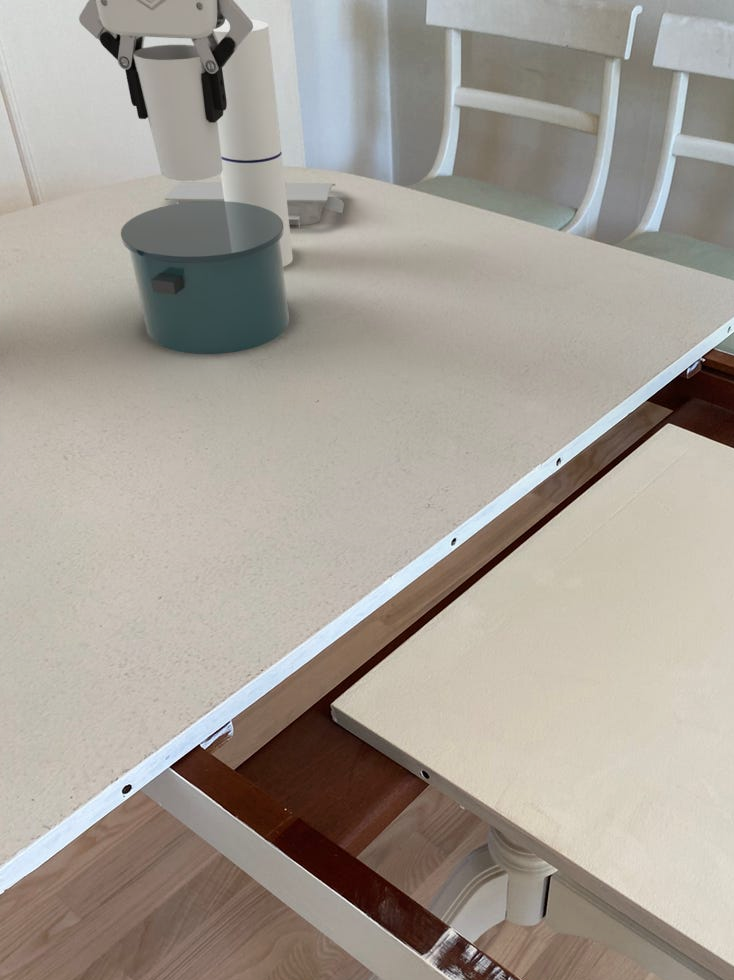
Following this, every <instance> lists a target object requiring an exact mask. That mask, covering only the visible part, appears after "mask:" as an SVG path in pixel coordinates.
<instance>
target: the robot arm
mask: <svg viewBox="0 0 734 980" xmlns="http://www.w3.org/2000/svg"><path fill="white" fill-rule="evenodd" d="M225 19H226V20H227V21H228V22H229V24H230V30H229V32H228V33H227V34H226V36H225V37H224V38H223V39H222V40H221V41H220V43H219V42H218V39H217V37H216V35H215V33H214V31H213V29H216V28H219V27H220V26H222V25H223V24H224V22H225ZM250 19H251V18H249V16H248V15H247V14H246V13H245V12H244V11H243V10H242V9H241V8H240V6H239V5H238V3H237V2H235V0H88V1H87V2H86V4H85V6H84V8H83V9H82V11H81V12H80V14H79V17H78V20H79V23H80V24H81V25H82V27H83V28H85V29H86V30H87V31H88V32H89V33H90V35H92V36H93V37H94V38H95V39H97V40H98V41H99V42H100V44H101V45H102V46H103V48H104V49H105V50H107V52H108V53H109V54H110V55H111V56H112V57H114V59H115V60H116V61H117V63H118V66H119V67H120V68H121V69H123V70H125V76H126V81H127V86H128V92H129V96H130V101H131V104H132V106H133V107H136V114H137V117H138V119H139V120H147V119H148V115H147V111H146V107H145V102H144V98H143V93H142V89H141V84H140V80H139V75H138V72H137V69H136V65H135V61H134V57H133V54H134V53H135V51H136V50H139V49H142V48H144V46H145V38H165V39H166V38H167V39H190V40H191V42H192V43H193V44H192V45H194V46H195V48H196V50H197V52H198V54H199V57H200V59H201V61H202V63H203V65H204V67H205V72H204V73H202V74H201V76H202V78H201V80H202V89H203V98H204V107H205V114H206V120H208V121H209V122H211V123H215V122H216V121H217V120H218V119H220V118H221V117H222V116H223V111H224V110H225V109H226V107H227V101H226V93H225V86H224V78H223V71H222V67H223V66H225V64H226V62H227V61H228V59H229V58H230V57H231V56H232V54H233V53H234V52H235V50H236V49H237V47H238V46H239V45H240V44H241V43H242V41H243V40H244V39H245V38H246V36H247V35H248V34H249V33H250V32H251V30H252V29H253V23H252V21H251V20H250Z"/></svg>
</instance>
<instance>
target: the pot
mask: <svg viewBox="0 0 734 980" xmlns="http://www.w3.org/2000/svg"><path fill="white" fill-rule="evenodd" d="M283 233H284V226H283V221H282V220H281V218H280V217H279V216H278V215H277V214H275V213H274V212H272V211H270V210H268V209H265V208H262V207H259V206H255V205H250V204H245V203H238V202H228V201H199V202H188V203H180V204H176V203H175V204H168V205H163V206H160V207H156V208H153V209H150V210H147V211H144V212H142V213H140V214H138V215H136V216H134V217H132V218H131V219H129V220H128V221H126V222H125V224H123V226H122V227H121V229H120V238H121V242H122V244H123V246H125V248H126V249H127V250H128V251H129V254H130V259H131V264H132V268H133V273H134V279H135V281H136V282H135V283H136V287H137V291H138V296H139V301H140V305H141V310H142V315H143V319H144V324H145V328H146V332H147V335H148V337H149V338H150V339H151V340H152V341H153V342H154V343H156V345H157V344H158V345H159V346H161V347H163V348H166V349H169V350H172V351H175V352H181V353H187V354H195V355H219V354H228V353H236V352H241V351H246V350H250V349H253V348H256V347H260V346H263V345H265V344H268V343H269V342H271V341H273V340H275V339H276V338H278V337H280V336H281V335H282V334H283V333H284V332H285V331H286V330H287V328H288V326H289V325H290V324H289V323H290V314H289V306H288V297H287V289H286V288H287V287H286V281H285V280H286V279H285V272H284V270H285V269H284V267H283V261H282V252H281V243H280V239H281V237H282V236H283Z"/></svg>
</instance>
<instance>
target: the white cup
mask: <svg viewBox="0 0 734 980" xmlns="http://www.w3.org/2000/svg"><path fill="white" fill-rule="evenodd" d="M133 57H134V61H135V65H136V69H137V72H138V75H139V80H140V84H141V89H142V93H143V98H144V102H145V107H146V111H147V115H148V118H147V120H148V123H149V127H150V132H151V137H152V140H153V144H154V149H155V152H156V156H157V162H158V165H159V169H160V172H161V175H162V176H163V177H164V178H166V179H169V180H173V181H179V182H180V181H181V182H196V181H200V180H207V179H211V178H214V177H218V175H221V174H220V173H222V170H223V167H222V158H221V149H220V141H219V132H218V123H217V121H216V122H215V123H211V122H209V121H208V120H206V114H205V107H204V98H203V89H202V80H201V78H202V76H201V74H202V73H204V72H205V67H204V65H203V63H202V61H201V59H200V57H199V54H198V52H197V50H196V48H195V46H194V44H161V45H160V44H159V45H152V46H148V47H143V48H142V49H139V50H136V51H135V53H134V54H133Z"/></svg>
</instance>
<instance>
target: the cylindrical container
mask: <svg viewBox="0 0 734 980" xmlns="http://www.w3.org/2000/svg"><path fill="white" fill-rule="evenodd" d="M249 19H250V20H251V21H252V23H253V29H252V30H251V32H250V33H249V34H248V35H247V36H246V38H245V39H244V40H243V41H242V43H241V44H240V45H239V46H238V47H237V49H236V50H235V52H234V53H233V54H232V56H231V57H230V58H229V59H228V61H227V62H226V64H225V66H223V67H222V71H223V78H224V86H225V93H226V101H227V107H226V109H225V110H224V111H223V116H222V117H221V118H220V119H218V120H217V123H218V132H219V141H220V149H221V158H222V167H223V170H222V173H220V174H219V175H220V179H221V181H220V182H222V187H223V194H224V201H228V202H238V203H245V204H250V205H255V206H259V207H262V208H265V209H268V210H270V211H272V212H274V213H275V214H277V215H278V216H279V217H280V218H281V220H282V221H283V226H284V233H283V236H282V237H281V239H280V243H281V252H282V261H283V268H284V267H286V266H288V265H290V264H291V263H292V262H293V259H294V258H293V257H294V256H293V248H292V247H293V246H292V238H291V229H290V227H291V226H290V225H289V217H288V207H287V198H286V189H285V183H286V181H285V172H284V171H285V170H284V163H283V162H284V161H283V153H282V143H281V134H280V124H279V115H278V105H277V95H276V85H275V75H274V68H273V57H272V50H271V39H270V31H269V24H268V23H267V22H266V21H263V20H258V19H253V18H252V19H251V18H249ZM229 30H230V24H229V22H228V21H227V20H226V19H225V22H224V24H223V25H222V26H220V27H219V28H216V29H213V31H214V33H215V35H216V37H217V39H218V42H219V43H220V41H221V40H222V39H223V38H224V37H225V36H226V34H227V33H228V32H229Z"/></svg>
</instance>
